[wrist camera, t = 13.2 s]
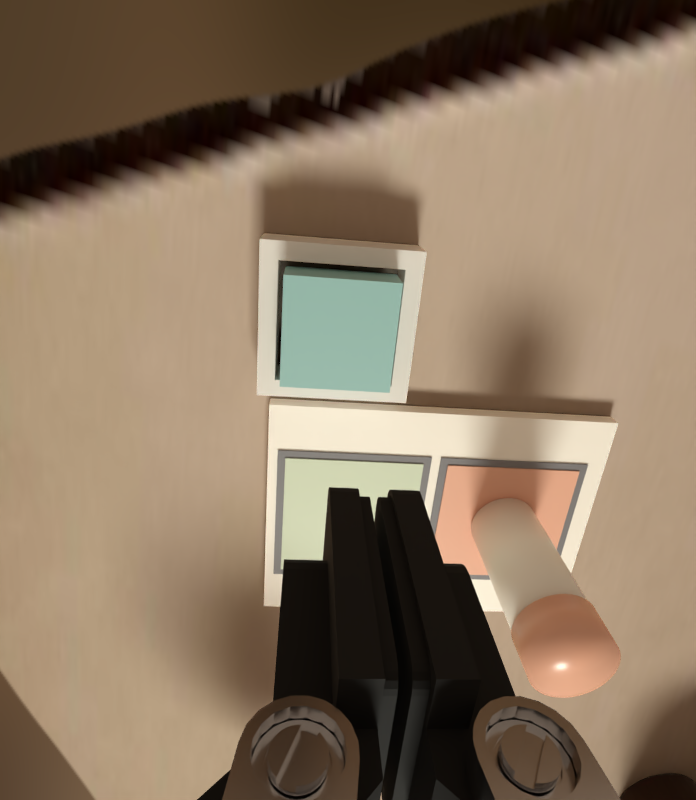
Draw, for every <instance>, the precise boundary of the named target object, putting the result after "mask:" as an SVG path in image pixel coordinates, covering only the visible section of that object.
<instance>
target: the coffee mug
mask: <svg viewBox="0 0 696 800" xmlns="http://www.w3.org/2000/svg"><path fill="white" fill-rule="evenodd" d="M620 799H621V800H696V783H695V782H694V781H693V780H692V779H690V778H689V777H687V776H684V775H680V774H660V775H656V776H651V777H649V778H646V779H643V780H641V781H639V782H637V783H635V784H634V785H632V786H631V787H630V788H628V789H627V790H626V791H625V792H624V793H623V795H622V796H621V798H620Z"/></svg>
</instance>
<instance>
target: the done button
mask: <svg viewBox="0 0 696 800" xmlns="http://www.w3.org/2000/svg"><path fill="white" fill-rule="evenodd" d="M402 289H403V282H402V281H401V280H400V278H399V277H398V276H397V274H389V273H375V272H362V271H349V270H335V269H322V268H308V267H295V266H286V268H285V271H284V274H283V302H282V330H281V359H280V387H293V388H311V389H329V390H347V391H365V392H383V393H390V386H391V378H392V370H393V362H394V353H395V345H396V337H397V329H398V321H399V313H400V305H401V297H402Z"/></svg>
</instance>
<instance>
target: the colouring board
mask: <svg viewBox="0 0 696 800" xmlns="http://www.w3.org/2000/svg"><path fill="white" fill-rule="evenodd" d="M617 426H618V422H616V421H615V420H614V419H613V418H612V417H609V416H590V415H572V414H553V413H535V412H516V411H498V410H480V409H461V408H443V407H424V406H406V405H387V404H369V403H351V402H332V401H314V400H295V399H277V398H270V404H269V434H268V470H267V507H266V544H265V580H264V606H280V604H281V591H282V578H283V565H284V559H290V560H323V550H324V537H325V524H326V512H327V499H328V489H329V487H335V488H358V489H359V494H360V496H365V497H370V500H371V506H372V512H373V518H374V520H375V512H376V504H377V499H378V497H387V496H388V492H389V490H416V491H420V493H421V495H422V498H423V501H424V504H425V507H426V511H427V514H428V517H429V520H430V523H431V526H432V529H433V532H434V535H435V538H436V541H437V544H438V547H439V551H440V554H441V557H442V560H443V563H448V564H463V565H464V566H465V567H466V569H467V571H468V573H469V575H470V578H471V580H472V583H473V586H474V588H475V591H476V593H477V596H478V599H479V601H480V604H481V607H482V609H483V611H503V609H502V607H501V604H500V602H499V600H498V597H497V595H496V592H495V590H494V587H493V585H492V582H491V580H490V578H489V575H488V573H487V570H486V568H485V565H484V563H483V560H482V558H481V556H480V553H479V551H478V548H477V546H476V543H475V541H474V538H473V536H472V533H471V524H472V521H473V518H474V516H475V515H476V513H477V512H478V511H479V510H480V509H481V508H482V507H483V506H485V505H486V504H488V503H490V502H492V501H494V500H497V499H502V498H515V499H519V500H522V501H524V502H526V503H527V504H528V505H529V506H530V507H531V508H532V510H533V511H534V513H535V515H536V516H537V518H538V520H539V521H540V523H541V525H542V526H543V528H544V530H545V531H546V533H547V535H548V536H549V538H550V539H551V541H552V543H553V544H554V546H555V548H556V549H557V551H558V553H559V554H560V556H561V558H562V559H563V561H564V563H565V564H566V566H567V568H568V569H569V571H570V573H571V572H572V569H573V566H574V563H575V560H576V556H577V553H578V550H579V547H580V544H581V541H582V537H583V534H584V531H585V528H586V525H587V522H588V518H589V515H590V512H591V509H592V506H593V502H594V499H595V496H596V493H597V490H598V487H599V483H600V480H601V477H602V474H603V471H604V468H605V464H606V461H607V458H608V455H609V452H610V449H611V445H612V442H613V439H614V436H615V433H616V430H617Z"/></svg>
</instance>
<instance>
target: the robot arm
mask: <svg viewBox="0 0 696 800" xmlns="http://www.w3.org/2000/svg"><path fill="white" fill-rule="evenodd" d="M381 792H382V800H621V799H620V798H619V796H618V794H617V793H616V791H615V790H614V788H613V786H612V785H611V783H610V781H609V780H608V778H607V777H606V775H605V773H604V772H603V770H602V768H601V767H600V765H599V764H598V762H597V760H596V759H595V757H594V755H593V754H592V752H591V751H590V749H589V747H588V746H587V744H586V743H585V741H584V739H583V738H582V737H581V736H580V734H579V733H578V732H577V730H576V729H575V728H574V727H573V725H572V724H571V723H570V722H569V721H567V720H566V719H565V718H564V717H563V716H561V715H560V714H559V713H558V712H557V711H555V710H554V709H552V708H550V707H548V706H546V705H544V704H543V703H541V702H539V701H536V700H532V699H529V698H525V697H521V696H515V694H514V691H513V688H512V686H511V683H510V681H509V678H508V675H507V673H506V670H505V667H504V665H503V662H502V659H501V657H500V654H499V652H498V649H497V646H496V644H495V641H494V638H493V636H492V633H491V630H490V628H489V625H488V622H487V620H486V617H485V615H484V612H483V609H482V607H481V604H480V601H479V599H478V596H477V593H476V591H475V588H474V586H473V583H472V580H471V578H470V575H469V573H468V571H467V569H466V567H465V566H464V565H463V564H448V563H443V560H442V557H441V554H440V551H439V547H438V544H437V541H436V538H435V535H434V532H433V529H432V526H431V523H430V520H429V517H428V514H427V511H426V507H425V504H424V501H423V498H422V495H421V493H420V491H416V490H389V492H388V496H387V497H378V499H377V504H376V512H375V520H374V518H373V512H372V506H371V500H370V497H365V496H360V494H359V489H358V488H335V487H329V489H328V499H327V512H326V524H325V537H324V550H323V560H290V559H284V565H283V578H282V591H281V604H280V617H279V631H278V644H277V657H276V671H275V684H274V697H273V702H271V703H269V704H268V705H266V706H265V707H263V708H262V709H260V710H259V711H258V712H257V713H256V714H255V715H254V716H253V717H252V719H251V720H250V721H249V722H248V723H247V724H246V726H245V729H244V731H243V733H242V735H241V737H240V740H239V742H238V746H237V749H236V753H235V756H234V760H233V763H232V767H231V770H230V771H229V772H227V773H226V774H225V775H224V776H223V777H222V778H221V779H220V780H219V781H217V782H216V783H215V784H214V785H213V786H212V787H211V788H210V789H209V790H207V791H206V792H205V793H204V794H203V795H202V796H201V797H200V798H199V799H197V800H380V796H381Z"/></svg>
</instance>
